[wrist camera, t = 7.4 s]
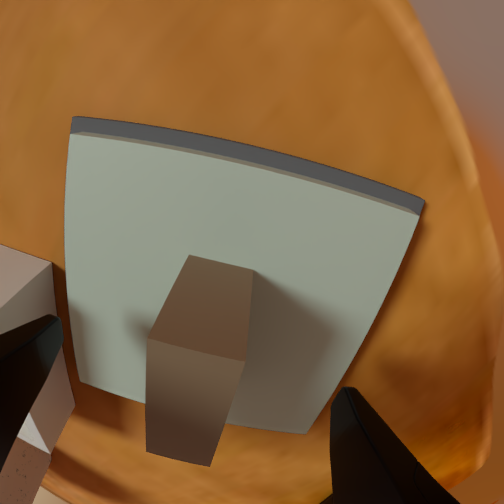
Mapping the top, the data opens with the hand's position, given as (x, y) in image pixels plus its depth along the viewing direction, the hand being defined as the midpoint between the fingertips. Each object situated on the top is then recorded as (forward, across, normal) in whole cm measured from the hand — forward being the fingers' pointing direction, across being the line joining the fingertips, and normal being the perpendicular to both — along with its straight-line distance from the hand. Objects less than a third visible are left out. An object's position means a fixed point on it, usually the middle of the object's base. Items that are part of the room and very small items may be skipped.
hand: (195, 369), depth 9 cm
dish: (+3, +12, +5) cm, 13 cm away
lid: (+3, 0, 0) cm, 3 cm away
